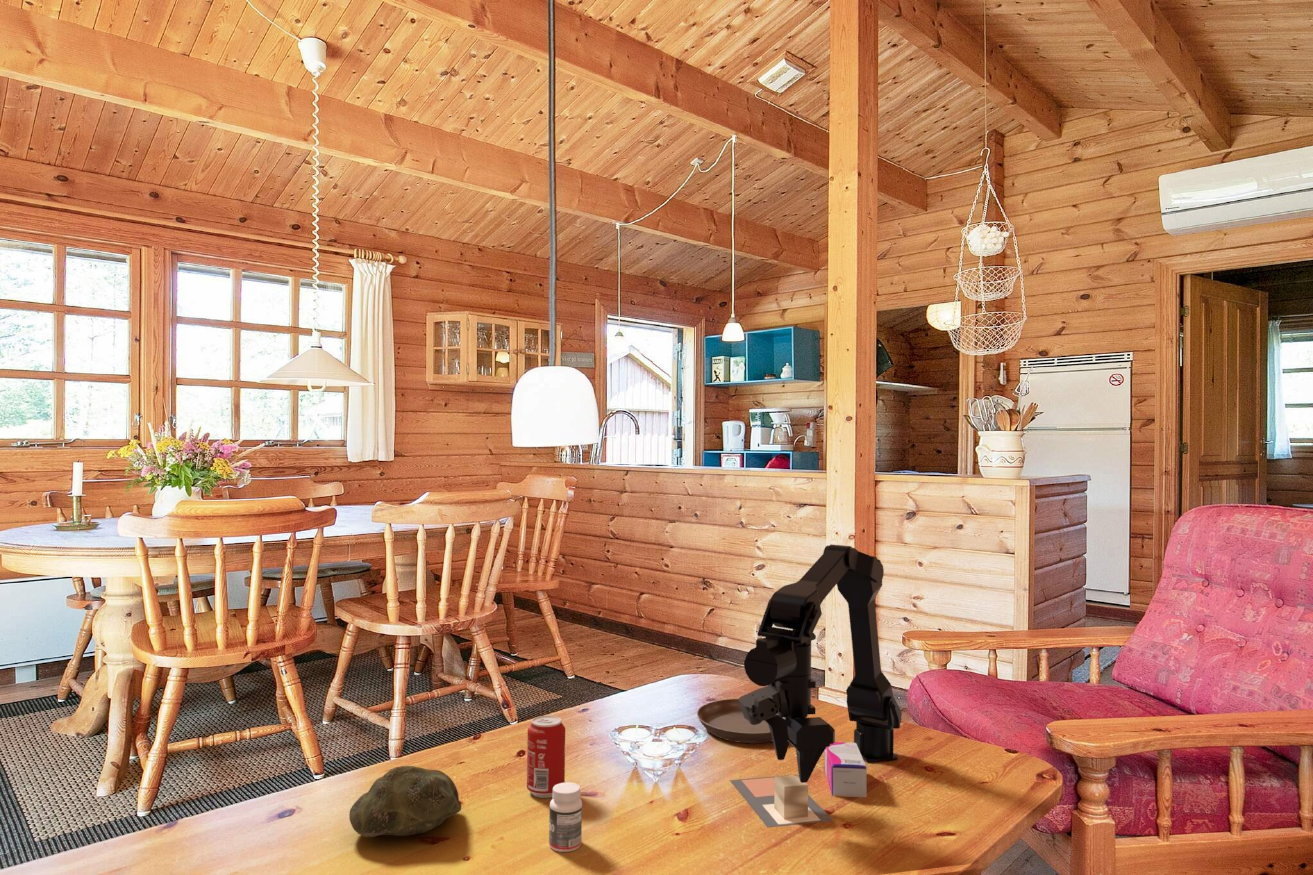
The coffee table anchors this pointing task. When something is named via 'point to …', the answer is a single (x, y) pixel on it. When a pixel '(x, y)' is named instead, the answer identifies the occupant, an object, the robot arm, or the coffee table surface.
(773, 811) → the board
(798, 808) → the block
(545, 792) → the beverage can
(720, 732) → the plant saucer
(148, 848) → the coffee table surface
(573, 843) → the pill bottle
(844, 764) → the supplement box
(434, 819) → the decorative rock
